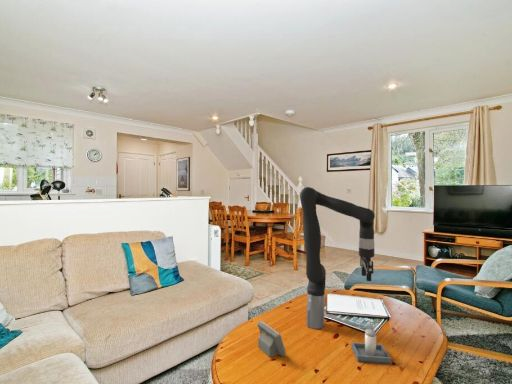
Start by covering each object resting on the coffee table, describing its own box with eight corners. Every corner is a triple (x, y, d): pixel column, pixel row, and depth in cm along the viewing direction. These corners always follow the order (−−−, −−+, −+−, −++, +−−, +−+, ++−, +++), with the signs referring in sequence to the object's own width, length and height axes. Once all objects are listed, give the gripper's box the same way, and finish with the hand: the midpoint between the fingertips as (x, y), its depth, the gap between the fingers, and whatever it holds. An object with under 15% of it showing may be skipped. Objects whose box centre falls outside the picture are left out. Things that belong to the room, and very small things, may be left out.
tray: (357, 361, 113) (357, 356, 113) (351, 347, 124) (351, 342, 124) (391, 364, 112) (391, 358, 112) (381, 349, 122) (381, 344, 122)
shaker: (366, 356, 116) (366, 333, 116) (363, 350, 120) (363, 328, 120) (377, 357, 115) (377, 334, 115) (374, 351, 120) (374, 329, 120)
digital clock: (287, 357, 115) (287, 333, 116) (268, 362, 112) (269, 337, 112) (271, 338, 130) (271, 317, 131) (254, 342, 127) (254, 320, 127)
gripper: (355, 244, 145) (355, 273, 145) (363, 249, 131) (362, 282, 131) (369, 244, 144) (369, 274, 144) (378, 250, 130) (378, 283, 130)
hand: (366, 278), depth 137 cm, fingers open, 8 cm apart
